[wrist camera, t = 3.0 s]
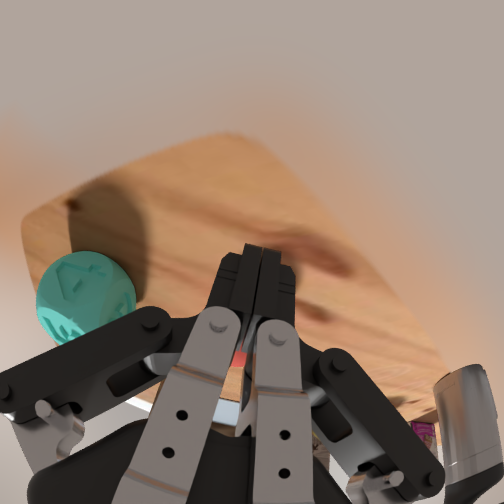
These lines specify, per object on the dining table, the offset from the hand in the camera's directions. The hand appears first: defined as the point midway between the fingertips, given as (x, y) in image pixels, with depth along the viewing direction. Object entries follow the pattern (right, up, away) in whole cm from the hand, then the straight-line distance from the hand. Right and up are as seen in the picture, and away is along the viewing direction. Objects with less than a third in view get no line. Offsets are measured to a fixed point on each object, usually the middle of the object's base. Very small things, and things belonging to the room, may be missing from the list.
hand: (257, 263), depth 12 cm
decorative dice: (-16, -2, +15) cm, 22 cm away
